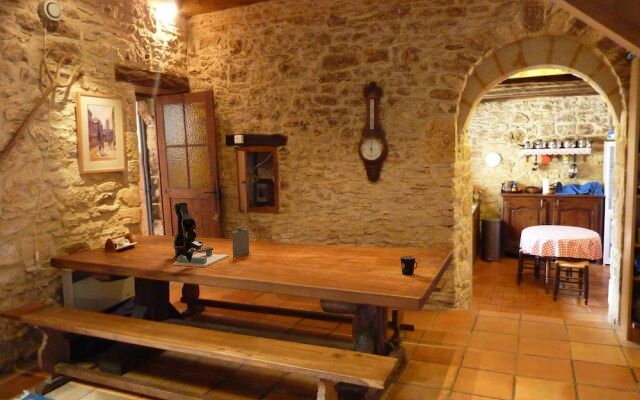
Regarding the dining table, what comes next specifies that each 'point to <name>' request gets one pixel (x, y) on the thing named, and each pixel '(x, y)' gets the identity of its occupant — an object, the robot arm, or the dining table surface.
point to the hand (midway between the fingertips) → (189, 261)
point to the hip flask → (240, 242)
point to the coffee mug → (408, 265)
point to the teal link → (194, 259)
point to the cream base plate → (210, 260)
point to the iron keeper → (205, 250)
